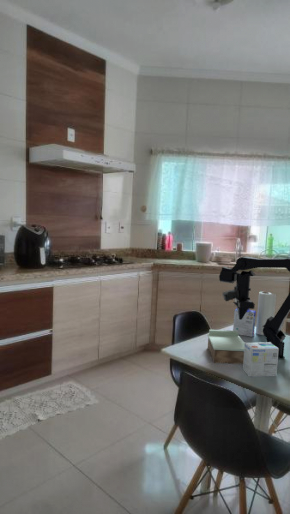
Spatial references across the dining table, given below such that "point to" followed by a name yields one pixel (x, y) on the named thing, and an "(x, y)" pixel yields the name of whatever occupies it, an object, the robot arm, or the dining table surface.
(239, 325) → the ink cartridge box
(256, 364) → the light bulb box
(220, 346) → the lid
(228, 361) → the box
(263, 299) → the paper towel roll
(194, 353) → the dining table surface
